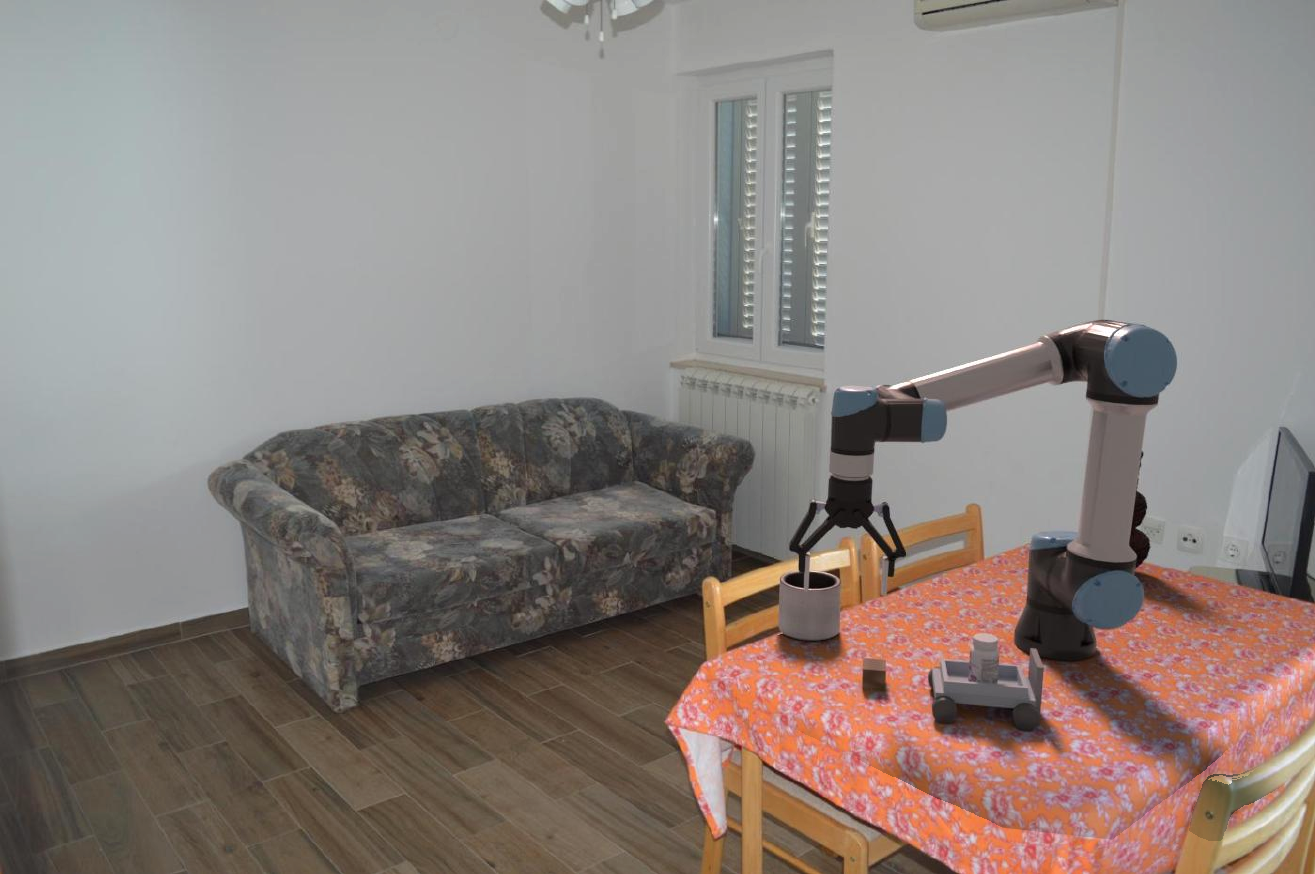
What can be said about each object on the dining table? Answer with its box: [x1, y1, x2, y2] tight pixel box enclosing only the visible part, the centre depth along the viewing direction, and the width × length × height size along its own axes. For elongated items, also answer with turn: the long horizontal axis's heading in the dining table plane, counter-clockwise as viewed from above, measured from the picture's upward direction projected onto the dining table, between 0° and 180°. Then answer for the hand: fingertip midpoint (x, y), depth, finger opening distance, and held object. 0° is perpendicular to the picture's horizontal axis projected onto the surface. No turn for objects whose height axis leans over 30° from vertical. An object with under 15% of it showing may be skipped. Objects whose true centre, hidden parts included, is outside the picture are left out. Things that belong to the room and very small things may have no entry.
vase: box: [1129, 450, 1152, 570], centre depth 241 cm, size 15×15×30 cm
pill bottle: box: [968, 632, 1000, 684], centre depth 173 cm, size 5×5×8 cm
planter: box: [777, 569, 842, 642], centre depth 208 cm, size 13×13×11 cm
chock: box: [861, 657, 887, 692], centre depth 184 cm, size 4×5×4 cm
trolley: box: [927, 648, 1045, 732], centre depth 174 cm, size 18×14×10 cm
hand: (844, 591), depth 181 cm, fingers open, 13 cm apart
